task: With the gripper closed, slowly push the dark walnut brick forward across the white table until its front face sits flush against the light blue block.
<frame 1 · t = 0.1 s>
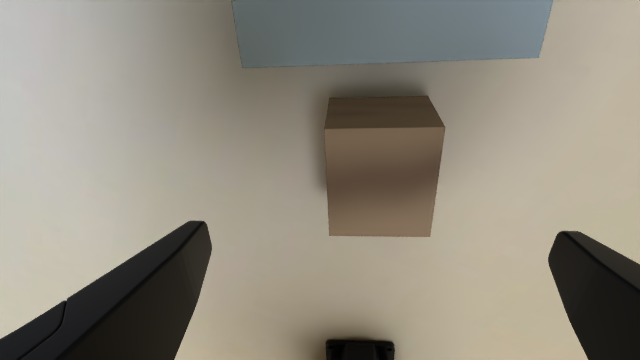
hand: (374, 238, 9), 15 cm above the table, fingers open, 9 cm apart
light blue block: (380, 18, 20), on the table
walnut brick: (376, 147, 24), on the table
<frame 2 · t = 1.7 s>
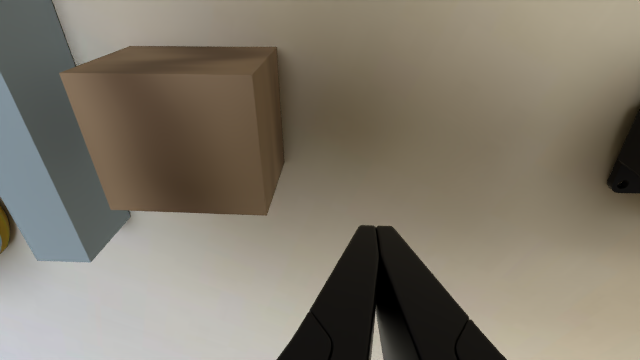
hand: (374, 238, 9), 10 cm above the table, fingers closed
light blue block: (63, 108, 19), on the table
walnut brick: (213, 107, 18), on the table
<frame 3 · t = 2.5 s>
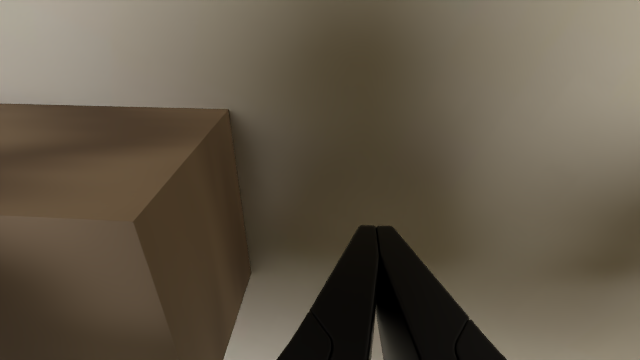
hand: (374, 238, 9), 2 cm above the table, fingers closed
walnut brick: (134, 195, 11), on the table
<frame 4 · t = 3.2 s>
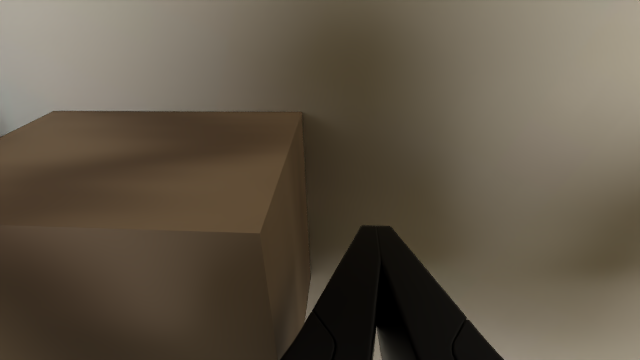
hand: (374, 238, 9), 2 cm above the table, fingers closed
walnut brick: (196, 202, 11), on the table, touching gripper
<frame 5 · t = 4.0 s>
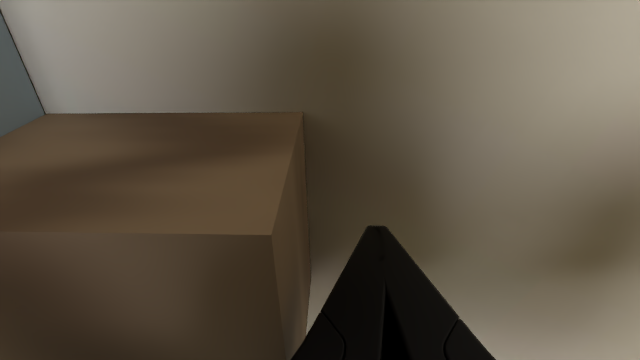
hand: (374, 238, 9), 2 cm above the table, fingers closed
light blue block: (38, 203, 11), on the table
walnut brick: (194, 205, 11), on the table, touching light blue block, gripper
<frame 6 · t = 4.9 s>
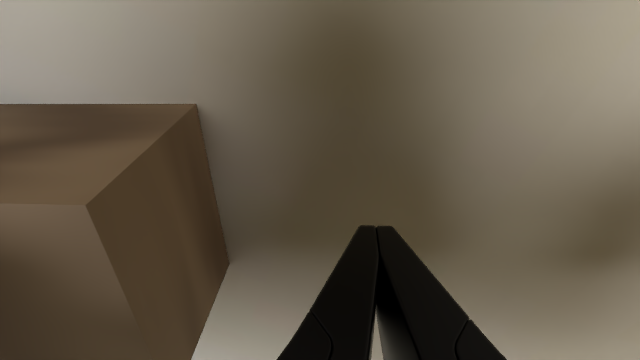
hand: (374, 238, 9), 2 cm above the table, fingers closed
walnut brick: (112, 190, 12), on the table
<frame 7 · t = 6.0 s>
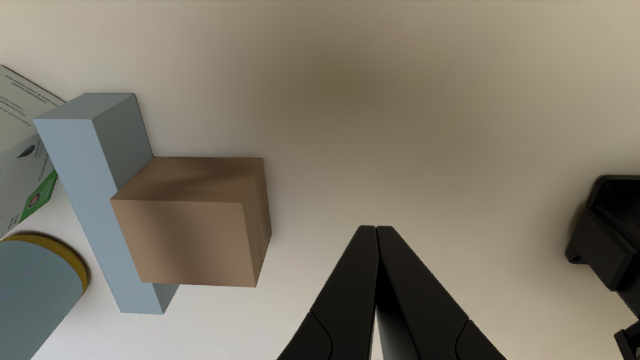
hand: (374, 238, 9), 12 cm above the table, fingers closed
light blue block: (143, 195, 24), on the table
bottle: (50, 262, 29), on the table
ink box: (29, 138, 23), on the table
walnut brick: (216, 196, 24), on the table
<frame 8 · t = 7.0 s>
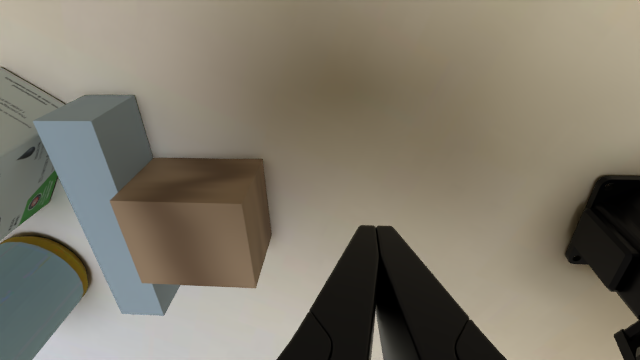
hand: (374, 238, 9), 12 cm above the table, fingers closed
light blue block: (143, 196, 24), on the table
bottle: (50, 263, 29), on the table
ink box: (30, 140, 23), on the table
walnut brick: (216, 197, 24), on the table, touching light blue block
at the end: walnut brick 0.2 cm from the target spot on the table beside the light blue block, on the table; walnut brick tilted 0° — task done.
